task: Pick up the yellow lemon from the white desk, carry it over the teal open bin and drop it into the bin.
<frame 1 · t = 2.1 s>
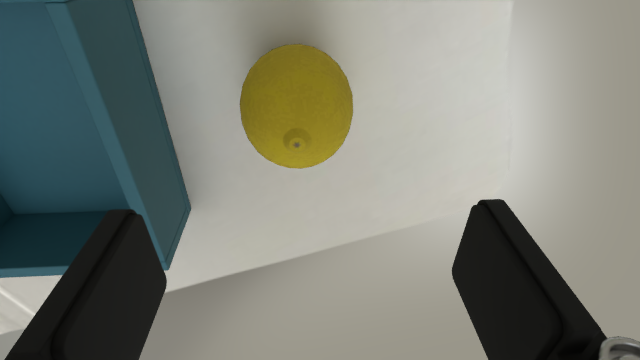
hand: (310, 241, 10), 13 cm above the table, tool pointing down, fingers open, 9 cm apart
lemon: (296, 76, 21), on the table
teal open bin: (58, 114, 21), on the table
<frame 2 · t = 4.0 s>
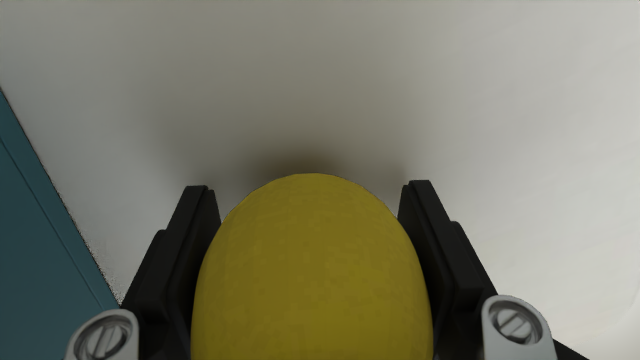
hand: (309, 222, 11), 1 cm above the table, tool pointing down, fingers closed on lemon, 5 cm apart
lemon: (308, 193, 12), on the table, touching gripper
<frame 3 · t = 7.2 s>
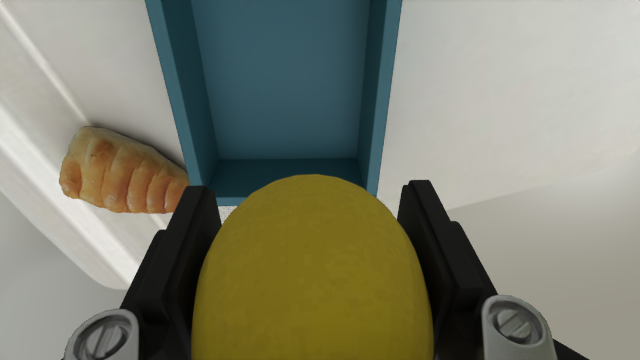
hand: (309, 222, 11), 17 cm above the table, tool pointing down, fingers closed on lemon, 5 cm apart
pastry: (132, 164, 29), on the table
lemon: (309, 194, 12), point 15 cm above the table, touching gripper
teal open bin: (285, 68, 25), on the table
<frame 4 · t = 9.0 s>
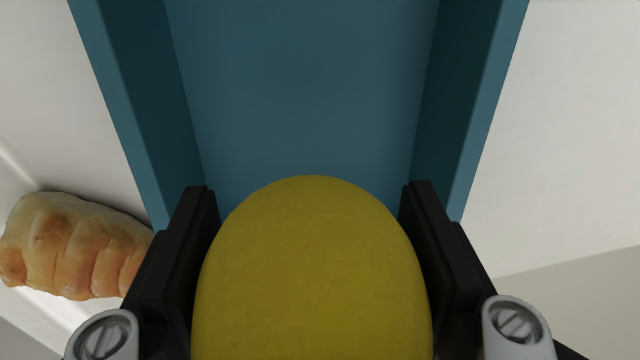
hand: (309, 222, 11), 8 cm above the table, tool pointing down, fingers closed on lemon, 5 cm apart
pastry: (102, 232, 22), on the table
lemon: (308, 194, 12), point 7 cm above the table, touching gripper
teal open bin: (306, 111, 18), on the table
when the fingers open (5 cm above the table, at t = 10.4 s): lemon drops 3 cm, resting on teal open bin.
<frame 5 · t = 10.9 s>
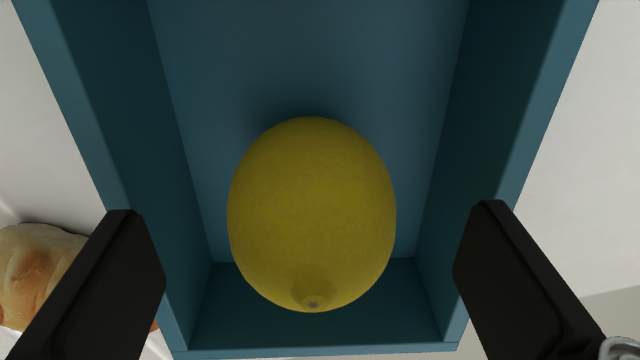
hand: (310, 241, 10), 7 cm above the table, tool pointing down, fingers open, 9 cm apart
pastry: (89, 264, 20), on the table
lemon: (309, 144, 15), point 1 cm above the table, touching teal open bin
teal open bin: (312, 139, 16), on the table
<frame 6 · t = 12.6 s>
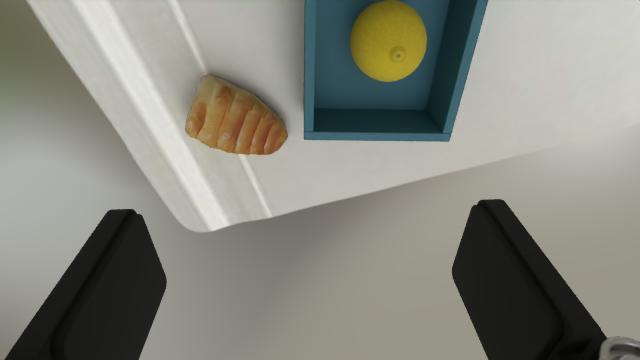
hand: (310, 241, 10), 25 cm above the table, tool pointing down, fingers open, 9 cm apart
pastry: (235, 112, 34), on the table
lemon: (377, 29, 30), point 1 cm above the table, touching teal open bin
teal open bin: (377, 29, 30), on the table
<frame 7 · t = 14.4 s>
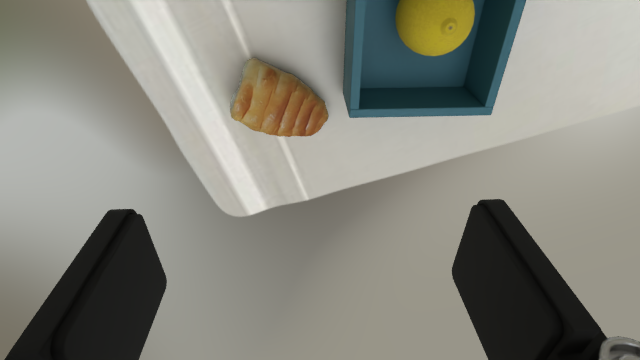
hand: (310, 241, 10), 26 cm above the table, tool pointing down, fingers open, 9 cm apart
pastry: (276, 95, 35), on the table
lemon: (418, 7, 30), point 1 cm above the table, touching teal open bin
teal open bin: (417, 7, 31), on the table
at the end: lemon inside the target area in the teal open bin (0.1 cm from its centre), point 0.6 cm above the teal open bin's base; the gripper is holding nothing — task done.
